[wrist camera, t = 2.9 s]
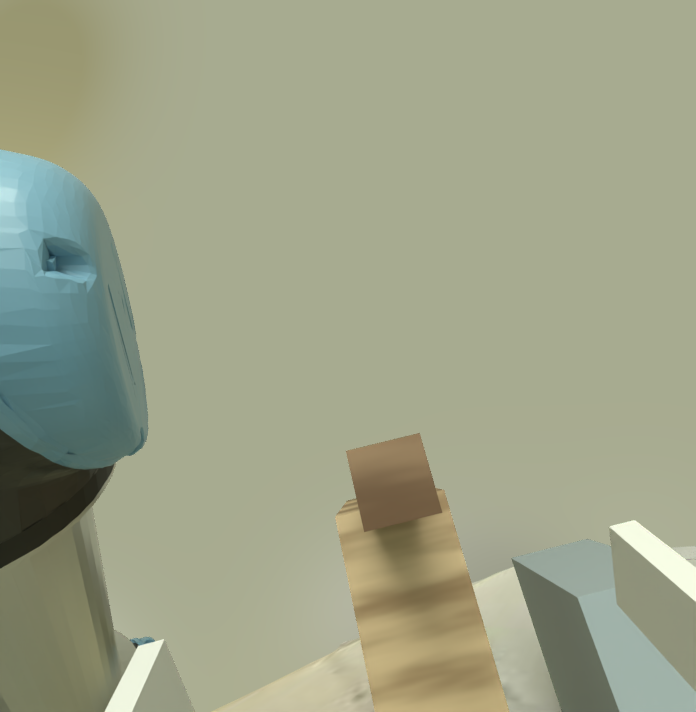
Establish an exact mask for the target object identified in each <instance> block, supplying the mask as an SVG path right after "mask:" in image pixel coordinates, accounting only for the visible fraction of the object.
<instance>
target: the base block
mask: <svg viewBox="0 0 696 712" xmlns="http://www.w3.org/2000/svg"><path fill="white" fill-rule="evenodd" d="M512 562H513V564H514V568H515V571H516V574H517V577H518V580H519V583H520V586H521V589H522V592H523V595H524V598H525V601H526V604H527V607H528V610H529V613H530V616H531V619H532V622H533V625H534V628H535V631H536V634H537V637H538V640H539V643H540V647H541V650H542V653H543V656H544V659H545V662H546V665H547V668H548V671H549V674H550V677H551V680H552V683H553V686H554V689H555V692H556V695H557V698H558V701H559V704H560V707H561V710H562V712H696V692H695V690H694V689H693V688H692V687H691V686H690V685H689V684H688V683H687V682H686V680H685V679H684V678H683V677H682V676H681V675H680V674H679V673H678V672H677V670H676V669H675V668H674V667H673V666H672V665H671V664H670V663H669V662H668V660H667V659H666V658H665V657H664V656H663V655H662V654H661V653H660V652H659V650H658V649H657V648H656V647H655V646H654V645H653V644H652V643H651V642H650V640H649V639H648V638H647V637H646V636H645V635H644V634H643V633H642V632H641V630H640V629H639V628H638V627H637V626H636V625H635V624H634V623H633V622H632V620H631V619H630V618H629V617H628V616H627V615H626V614H625V613H624V612H623V610H622V609H621V608H620V607H619V606H618V605H617V600H616V590H615V581H614V571H613V561H612V551H611V546H609V545H606V544H602V543H599V542H596V541H592V540H589V539H586V540H581V541H577V542H573V543H569V544H565V545H562V546H557V547H553V548H550V549H545V550H542V551H538V552H534V553H530V554H526V555H522V556H518V557H514V558H512Z"/></svg>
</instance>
